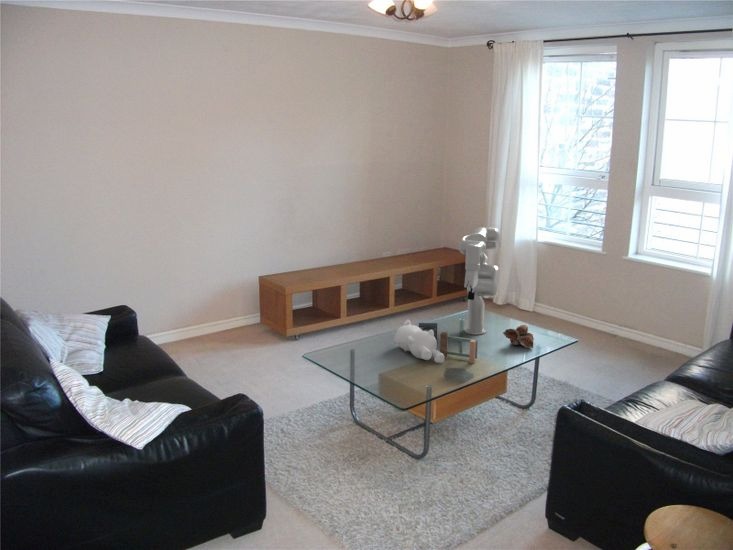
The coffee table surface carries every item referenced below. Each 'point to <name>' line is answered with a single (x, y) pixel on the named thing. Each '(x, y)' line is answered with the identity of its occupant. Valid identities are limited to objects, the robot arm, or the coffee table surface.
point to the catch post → (472, 351)
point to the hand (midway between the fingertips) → (471, 299)
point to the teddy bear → (418, 342)
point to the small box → (429, 328)
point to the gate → (461, 346)
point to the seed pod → (520, 336)
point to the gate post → (443, 343)
